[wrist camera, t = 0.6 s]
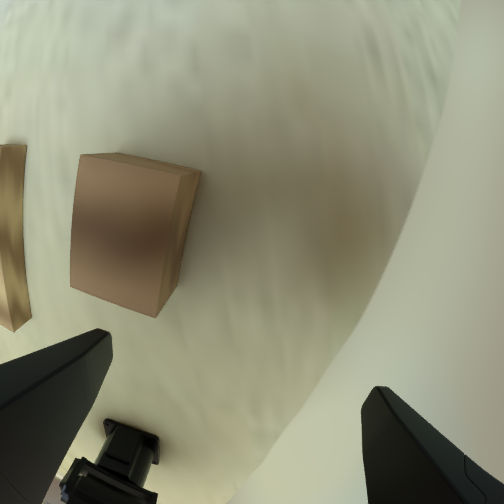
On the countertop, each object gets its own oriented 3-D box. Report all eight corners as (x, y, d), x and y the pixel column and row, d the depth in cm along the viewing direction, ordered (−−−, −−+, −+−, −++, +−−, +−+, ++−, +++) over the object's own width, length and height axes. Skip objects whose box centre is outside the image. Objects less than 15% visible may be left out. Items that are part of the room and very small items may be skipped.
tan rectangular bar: (31, 317, 22) (13, 332, 19) (12, 307, 22) (-5, 321, 19) (26, 145, 17) (1, 147, 14) (6, 144, 17) (-18, 146, 14)
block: (177, 285, 20) (155, 318, 16) (103, 261, 20) (70, 286, 16) (201, 170, 18) (180, 175, 13) (118, 152, 18) (80, 154, 13)
